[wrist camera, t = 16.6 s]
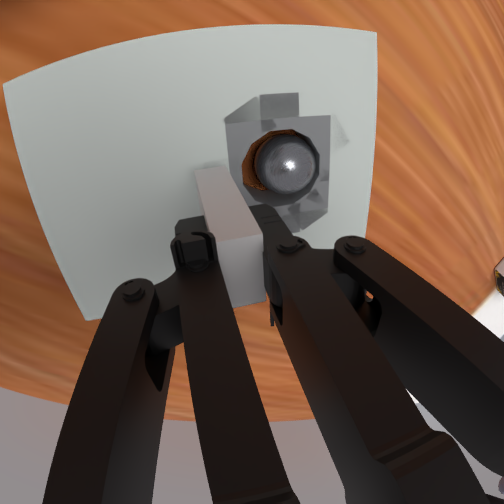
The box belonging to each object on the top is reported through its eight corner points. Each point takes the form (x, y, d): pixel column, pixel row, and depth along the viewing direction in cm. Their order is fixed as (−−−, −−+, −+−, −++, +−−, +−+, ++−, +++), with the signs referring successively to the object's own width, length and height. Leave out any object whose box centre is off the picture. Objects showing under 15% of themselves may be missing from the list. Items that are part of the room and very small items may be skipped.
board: (90, 297, 21) (86, 320, 19) (21, 80, 12) (2, 84, 10) (345, 245, 25) (360, 263, 23) (354, 33, 16) (376, 32, 14)
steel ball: (246, 187, 20) (277, 212, 17) (240, 134, 17) (274, 153, 15) (292, 171, 21) (327, 193, 18) (291, 122, 18) (329, 138, 16)
